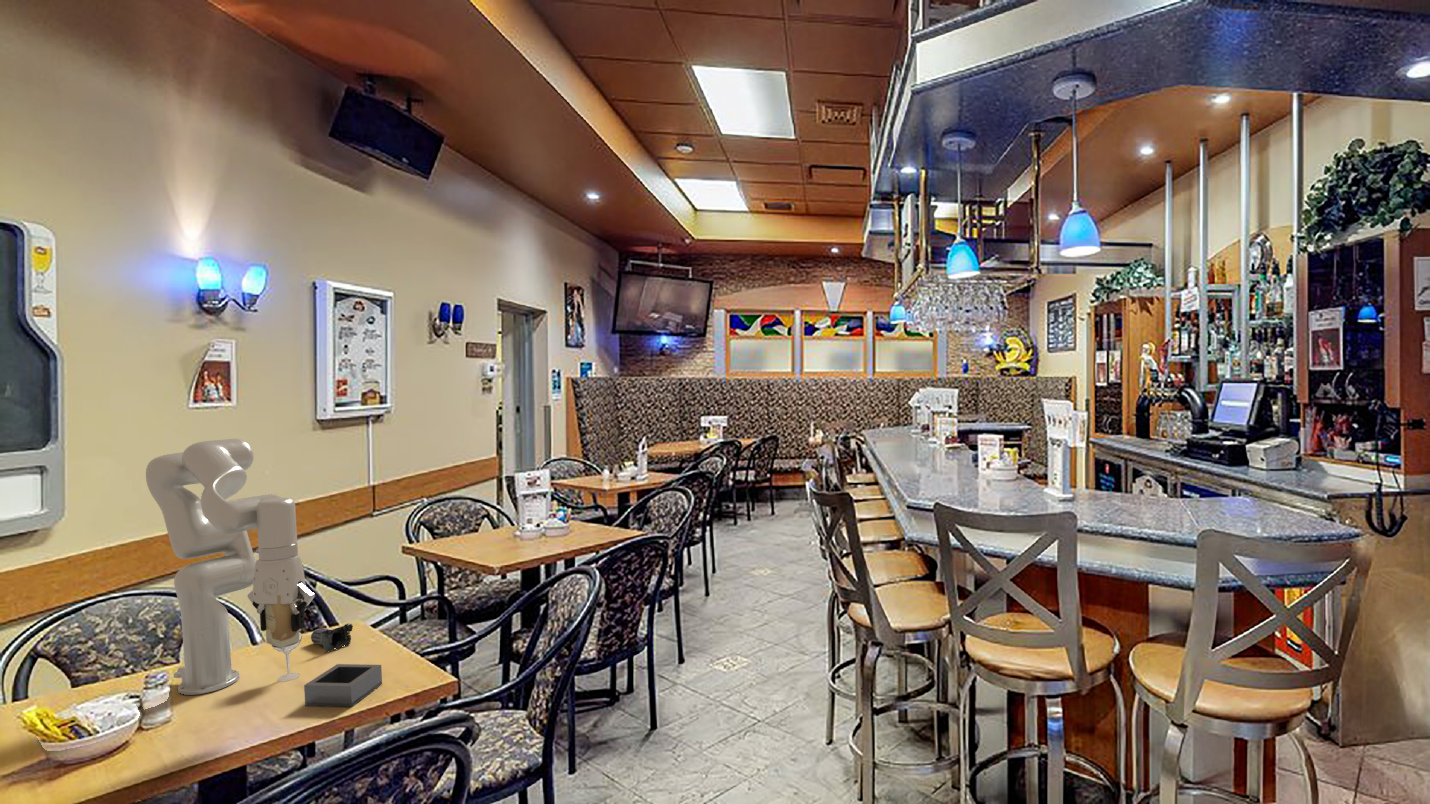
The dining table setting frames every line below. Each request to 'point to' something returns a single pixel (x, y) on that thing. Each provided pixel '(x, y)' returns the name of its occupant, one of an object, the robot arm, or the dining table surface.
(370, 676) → the rectangular box socket
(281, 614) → the skincare box
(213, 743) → the dining table surface
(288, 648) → the wineglass
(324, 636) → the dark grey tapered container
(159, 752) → the dining table surface
